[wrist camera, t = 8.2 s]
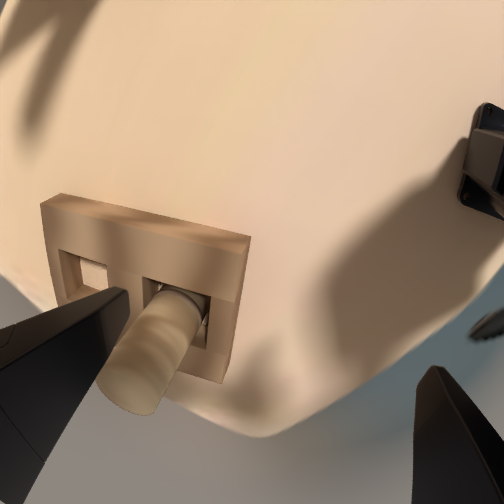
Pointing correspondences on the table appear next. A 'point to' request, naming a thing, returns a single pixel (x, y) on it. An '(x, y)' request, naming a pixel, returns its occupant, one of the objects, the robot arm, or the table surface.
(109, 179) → the table surface
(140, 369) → the dowel
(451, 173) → the table surface
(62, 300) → the board
